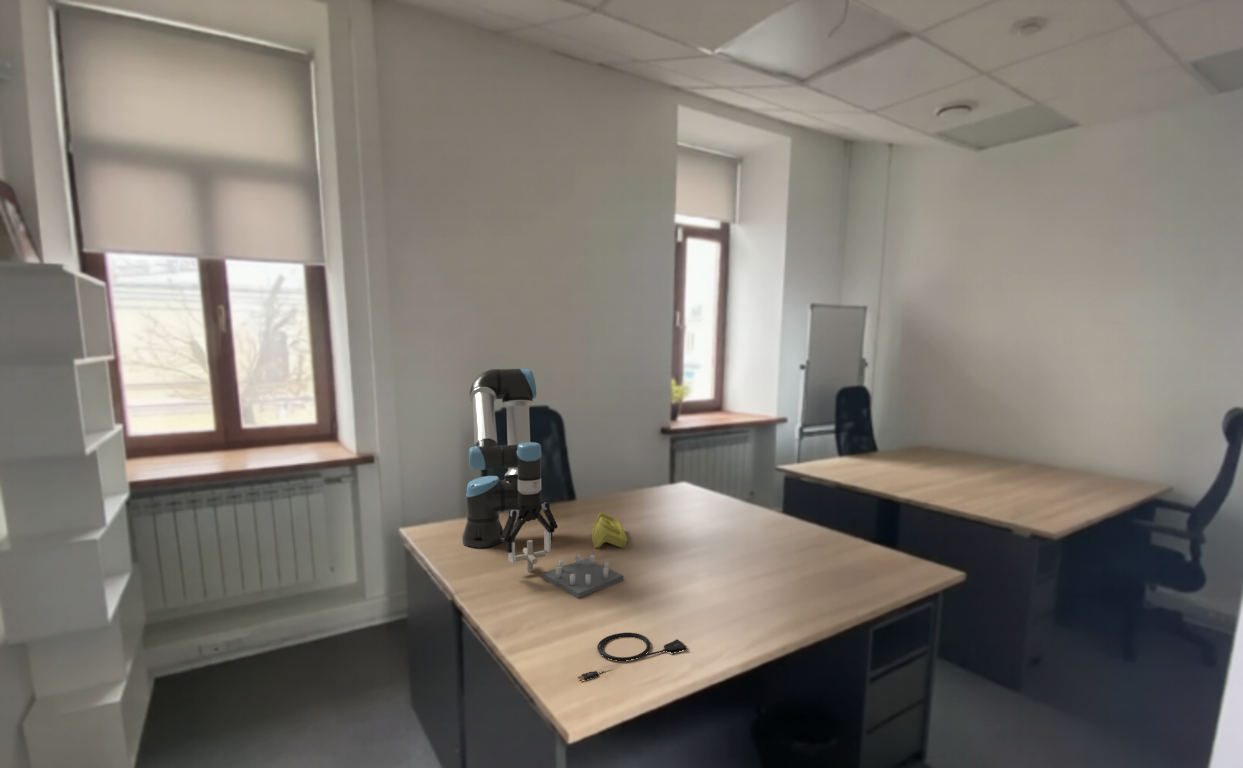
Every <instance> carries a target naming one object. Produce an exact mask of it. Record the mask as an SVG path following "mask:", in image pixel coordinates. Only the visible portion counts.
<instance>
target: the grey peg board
mask: <svg viewBox="0 0 1243 768" xmlns="http://www.w3.org/2000/svg"><path fill="white" fill-rule="evenodd" d="M581 557H582V556H581V554H575V562H574V561H573V562H572V563H569V564H566V565H564V560H558V566H556V567H555V568H554V569H551V570H548V571H546V572H542V579H543V578H544V579H543V580H545V579H546V580H545V581H547V582H548V583H550V582H551V584H552V585H554V586H555V587H557V586H558V588H559V587H560V588H559V589H561V588H562V589H561V590H563V591H564V590H565V591H564V592H566V591H567V593H568V592H569V593H568V594H570V595H571V594H572V595H571V596H573V595H574V596H573V597H575V598H577V599H580V598H582V596H583V597H586V596H588V595H589V594H593V593H595V592H597V590H598V591H600V590H602V589H604V588H607V587H610V586H612V585H615V584H617V583H620V582H622V581H624V574H622V573H620V572H617V571H615V570H613V569H611V568H610V562H609V561H604V562H603V565H602V564H600V563H598V562H596V556H595V554H592V555H591V554H590V555H589V557H587V558H583V559H581ZM619 581H620V582H619ZM609 585H610V586H609ZM599 589H600V590H599ZM594 591H595V592H594ZM592 592H593V593H592ZM587 594H588V595H587Z"/></svg>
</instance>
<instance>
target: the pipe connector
mask: <svg viewBox="0 0 1243 768" xmlns="http://www.w3.org/2000/svg"><path fill="white" fill-rule="evenodd" d="M533 542H534V541H533V539H528V540H526V547H523V548H522V553H523V554H518V555H515V563H516V562H520V561H526V569H527V570H526V571H528V572H527V573H532V572H534V565H536V564H537V563H538V558H543V557H546V551H545V550H539V551H535V552H534V548H533V547H534V546H533V545H534V543H533Z"/></svg>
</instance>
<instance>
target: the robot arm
mask: <svg viewBox="0 0 1243 768" xmlns="http://www.w3.org/2000/svg"><path fill="white" fill-rule="evenodd" d="M536 384H537V383H536V378H535V374H534V373H533V371H532V370H531V369H527V368H525V369H524V368H499V369H498V368H490V369H487V370H485V371H484V372H482V373H481V374H479V375H478V376H477V377H476V378H475V379H474V381H473V382H472V384H471V387H470V389H469V400H470V402H471V405H472V412H473V413H472V414H473V416H472V417H473V438H474V440H473V442H474V446H471V447H469V448H468V449H469V450H468V455H469V456H468V458H469V459H468V460H469V461H468V462H469V463H468V464H469V468H470V469H471V470H474V471H475V470H479V471H480V470H482V471H483V470H495V469H507V471H506V472H505V474H504V479H500V477H498V476H497V475H486V476H480V477H477V478H474V479H472V480H471V481H469V482H468V484H467V486H466V494H465V496H466V524H465V526H464V531H463V534H462V537H461V538H462V542H463V543H462V544H463V545H464V546H465V545H466V546H465V547H468V546H470V547H469V548H474V547H477V548H476V549H478V548H481V547H484V548H490V546H491V547H495V546H498V545H500V544H502V543H505V546H506V547H505V551H506V552H507V555H508V562H510V563H511V564H515V563H516V562H515V556H516V542H515V541H514V540H515V538H516V537H517V535H518V534H519V532H520V531H521V529H522V527H523V526H524V525H526V523H528V522H530V521H535V520H537V521H538V522H539V523H540V524H541V526H543V528H544V529H545V530H544V531H543V540H544V541H543V546H544V549H543V551H545V552H547V553H552V543H551V542H552V541H553V539H554V538H553V533H555V530H556V529H558V523H557V521H556V519H555V517H554V515H553V513H552V511H551V508H550V507H551V506H550V503H548V502H546V501H542V499H543V498H542V494H543V493H542V491H541V490H542V457H543V456H542V455H543V454H542V445H541V444H540V443H538V442H535V441H534V442H531V430H530V429H531V428H530V427H531V426H530V406H532V404H533V400H535V399H536V398H537V385H536ZM496 400H501V402H502V405H503V406H504V407H505V408H506V434H507V439H506V441H507V444H505V445H498V436H497V435H498V432H497V424H496V423H497V422H496V413H495V412H496V411H495V402H496ZM541 511H542V512H543V513H544V515H545V517H544V516H543V514H542V513H541ZM503 512H504V513H505V512H507V513H508V517H507V521H506V523H505V524H504V528H503V525H502V523H501V519H500V513H503ZM545 518H546V519H547V520H546V519H545ZM481 549H482V548H481Z"/></svg>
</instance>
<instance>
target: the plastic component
mask: <svg viewBox="0 0 1243 768" xmlns="http://www.w3.org/2000/svg"><path fill="white" fill-rule="evenodd" d="M596 517H597V518H596V520H595V522H594V525H593V526H592V527H593V528H592V532H591V540H592V544H593V548H594V549H600V547H601V546H602V545H603V544H604V543H608V544H610V545H613V546H615V547H618V548H621V547H623V548H625V546H626V543H627V542H628V537H627V535H626V532H625V530H624V528H623V525H622V523H621V522H620V521H619V520H618V519H616V518H615V517H613V516H611V515H609V514H607V513H604V512H600V513H598V515H597V516H596Z"/></svg>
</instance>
